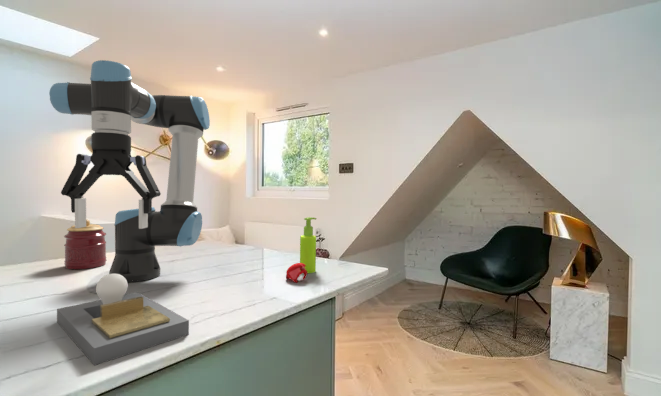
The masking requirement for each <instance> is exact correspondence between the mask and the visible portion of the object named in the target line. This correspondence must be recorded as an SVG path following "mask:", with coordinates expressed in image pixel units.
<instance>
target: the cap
mask: <svg viewBox="0 0 661 396" xmlns="http://www.w3.org/2000/svg"><path fill="white" fill-rule="evenodd" d="M305 266H306V265H305V264H303V263H300V262H297V263H294V264H292V265H290V266H288V268H287V270H286V272H285V273H286V275H285V278H286V279H287V280H291V281H292V282H293V283H298V282H299V281H298V279H299V278H300V276H301V275H302V274H303V277H302V280H303V281H304V280H306V278H307V276H308V273H307V271H306V269H305V268H304V267H305ZM300 270H301V271H300Z"/></svg>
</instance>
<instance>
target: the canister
mask: <svg viewBox="0 0 661 396" xmlns="http://www.w3.org/2000/svg"><path fill="white" fill-rule="evenodd" d="M103 230H104V227H103V226H101V225H99V224H95V223H92V224H91V222H90V220H89V219H87V218H86V227H82V228H75V224H74V225H71V226H70V227H69V228H67V229H66V231H68V232H67V233H66V234H65V235H63V237H64V238H65V243H64V266H65V267H64V268H65V269H67V270H87V269H93V268H99V267H102V266H105V265H106V262H107V253H106V252H107V251H106V250H107V248H106V247H107V241H106V240H105V239H106V235H107V233H106V232H105V231H103Z"/></svg>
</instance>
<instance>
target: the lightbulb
mask: <svg viewBox="0 0 661 396" xmlns="http://www.w3.org/2000/svg"><path fill="white" fill-rule="evenodd" d="M128 283H129V282H127V280H126V279H125V278H124V277H123V276H122V275H120V274H109V273H108V274H106V275H104V276H103V277H101V278H100V279H99V280H98V281H97V283H96V286H95V291H96V294H97V297H98V298H99V300H101V301H102V303H103V305H104V304H108V303H113V302H118V301H122V298H123V296H124V295H126V293H127V290H128V288H129V285H128Z"/></svg>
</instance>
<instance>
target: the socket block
mask: <svg viewBox="0 0 661 396" xmlns="http://www.w3.org/2000/svg"><path fill="white" fill-rule="evenodd" d="M141 296H142V297H143V307H145V306H150V307H151V308H153V309H155V310H157V311H158V312H160V313H162V314H163V315H165V316H167V317H168V318H170V321H169V322H165V323H162V324H158V325H155V326H151V327H148V328H144V329H141V330H137V331H134V332H130V333H127V334H123V335H120V336H116V337H113V338H109V337H108V336H107V335H105V334H104V333H103V332H102V331H101V330H100V329H99V328H98V327H97V326H96V325H94V324H93V323H92V319H95V318H99V317H100V305H103V303H102V301H101V299H99V300H98V299H97V300H93V301H89V302H84V303H83V302H82V303H79V304H75V305H70V306H66V307H65V306H64V307H60V308H56V323H57V324H58V325H59V326H60V327H61V329H62V330H63V331H64V332H65V333H66V334H67V336H68V337H69V338H70V339H71V340H72V341H73V342H74V343H75V344H76V346H77V347H78V348H79V350H81V352H82V353H83V355H85V356H86V357H87V359H88V360H89V361H90V362H91V363H92V365H94V366H96V365H99V364H102V363H106V362H108V361H113V360H114V359H117V358H121V357H124V356H127V355H130V354H134V353H137V352H139V351H142V350H146V349H149V348H151V347H154V346H157V345H161V344H164V343H166V342H169V341H173V340H176V339H179V338H182V337H185V336H188V335H189V334H190V333H189V332H190V329H189V328H190V325H189V324H190V320H189V319H187V318H185V317H184V316H181V315H180V314H178V313H176V312H174V311H173V310H171V309H169V308H167V307H165V306H164V305H162V304H160V303H158V302H156V301H155V300H153V299H151V298H149V297H147V296H146V295H144V294H142V293H141V292H139V291H138V292H137V291H136V292H133V293H127V294H125V295H124V296H123V298H122V300H127V299H131V298H136V297H141Z"/></svg>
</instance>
